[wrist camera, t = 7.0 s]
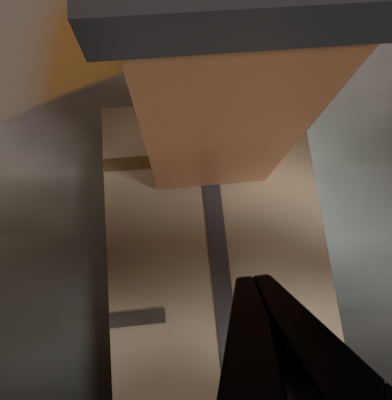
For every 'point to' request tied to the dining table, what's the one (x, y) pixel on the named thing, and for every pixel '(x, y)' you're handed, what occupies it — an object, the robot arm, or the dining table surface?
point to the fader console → (199, 262)
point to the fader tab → (228, 75)
